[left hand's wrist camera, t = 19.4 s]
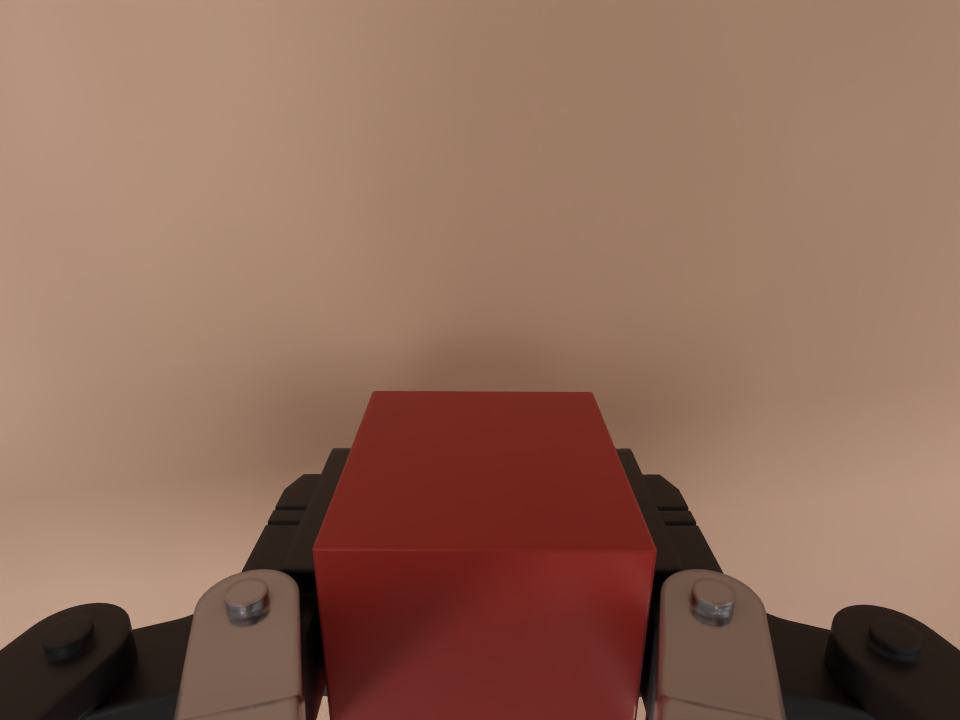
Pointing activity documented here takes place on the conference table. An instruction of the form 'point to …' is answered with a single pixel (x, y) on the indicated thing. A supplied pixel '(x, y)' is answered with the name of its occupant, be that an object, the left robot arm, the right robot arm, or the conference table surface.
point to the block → (483, 563)
